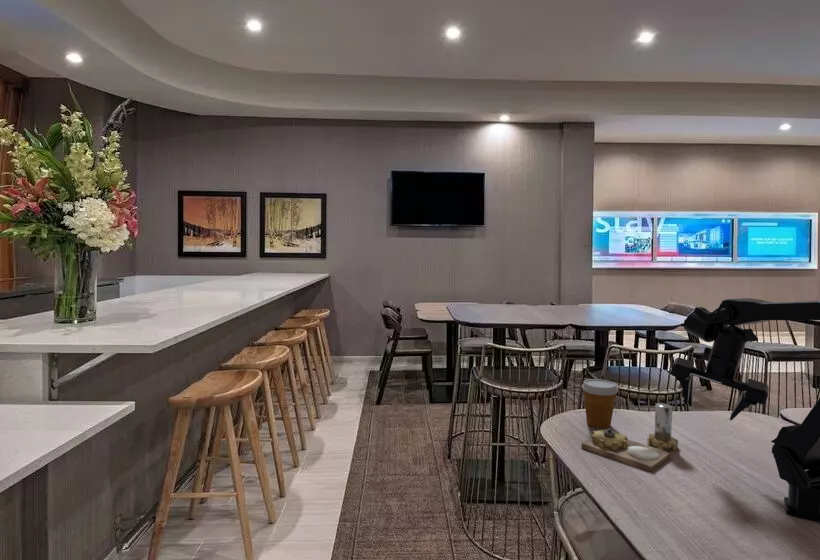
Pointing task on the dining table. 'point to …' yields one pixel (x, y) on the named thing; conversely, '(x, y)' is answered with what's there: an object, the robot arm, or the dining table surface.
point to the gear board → (625, 449)
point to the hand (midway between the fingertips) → (707, 411)
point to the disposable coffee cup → (599, 402)
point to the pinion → (663, 429)
